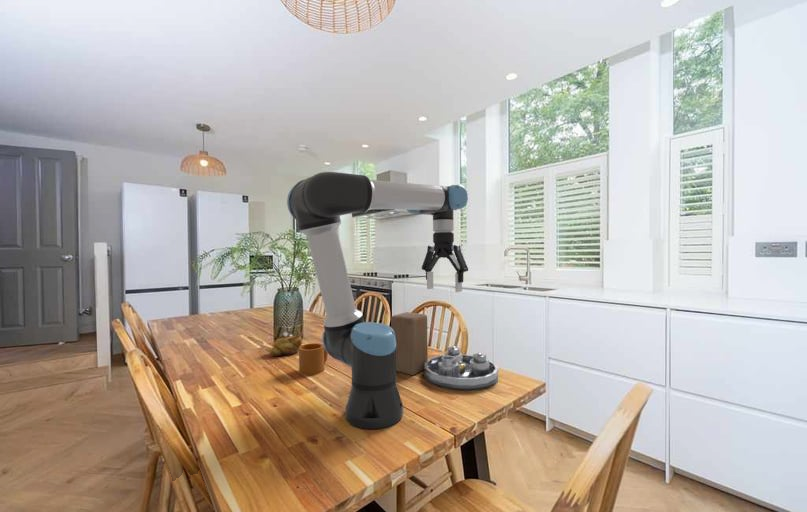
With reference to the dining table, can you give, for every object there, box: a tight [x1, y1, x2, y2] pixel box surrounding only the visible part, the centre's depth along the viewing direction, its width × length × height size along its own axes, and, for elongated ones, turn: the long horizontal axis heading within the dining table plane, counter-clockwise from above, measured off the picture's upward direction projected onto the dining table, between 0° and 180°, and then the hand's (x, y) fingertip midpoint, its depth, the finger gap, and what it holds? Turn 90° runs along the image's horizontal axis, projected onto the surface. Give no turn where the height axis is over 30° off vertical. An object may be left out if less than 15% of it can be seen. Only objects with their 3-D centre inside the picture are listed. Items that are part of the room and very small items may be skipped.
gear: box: [438, 356, 459, 378], centre depth 111 cm, size 7×7×6 cm
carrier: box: [423, 346, 499, 391], centre depth 116 cm, size 25×25×8 cm
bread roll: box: [269, 334, 303, 357], centre depth 143 cm, size 13×10×8 cm
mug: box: [298, 342, 329, 376], centre depth 123 cm, size 9×12×9 cm
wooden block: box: [390, 311, 429, 376], centre depth 122 cm, size 10×10×20 cm
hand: (443, 290), depth 123 cm, fingers open, 13 cm apart
